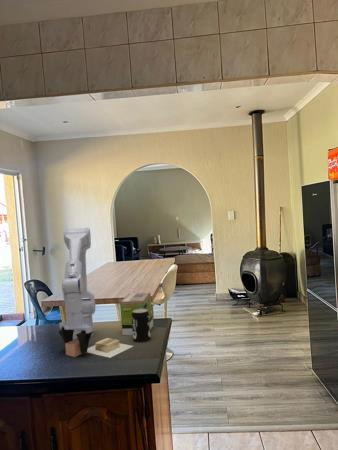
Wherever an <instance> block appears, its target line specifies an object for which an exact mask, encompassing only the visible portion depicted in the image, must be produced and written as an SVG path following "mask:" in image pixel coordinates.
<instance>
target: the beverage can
mask: <svg viewBox="0 0 338 450" xmlns="http://www.w3.org/2000/svg"><path fill="white" fill-rule="evenodd" d="M132 312H133V313H132V331H133V335H132V341H133V342H134V343H146V342H149V341H150V340H152V339H151V330H150V322H149V313H148V310H147V309H143V308H142V309H135V310H133V311H132Z"/></svg>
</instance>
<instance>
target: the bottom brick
mask: <svg viewBox="0 0 338 450" xmlns="http://www.w3.org/2000/svg"><path fill="white" fill-rule="evenodd" d="M119 343H120V339H115V338H109V337H106V338H104V339H101V340H99V341H96V342H94V345H95V349H96V350H98V351H102V352H107V353H108V352H110V351H112V350H115V349H117V348H119V347H120V344H119Z"/></svg>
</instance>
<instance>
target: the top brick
mask: <svg viewBox="0 0 338 450" xmlns="http://www.w3.org/2000/svg"><path fill="white" fill-rule="evenodd" d="M64 346H65V347H64V348H65V355H66V356H70V357H73V358H76V357H77V356H79V355H82V353H81V350H80V344H79V340H78V339H77V338H76V339H73V341H70V342H68V343H64Z"/></svg>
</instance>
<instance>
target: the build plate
mask: <svg viewBox="0 0 338 450" xmlns="http://www.w3.org/2000/svg"><path fill="white" fill-rule="evenodd" d="M119 344H120V347H119V348H117V349H115V350H112V351H110V352H108V353H107V352H102V351H98V350H96V349H95V344H94V345H92V346H90V347H89V346H88V349H87V352H86V353H88V354H92V355H97V356H99V357H105V358H109V359H111V358H112V357H115V356H116V355H119V354H120V353H123V352H124V351H127V350H129V349H131V348H133V347H134V345H130V344H125V343H120V342H119Z"/></svg>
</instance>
